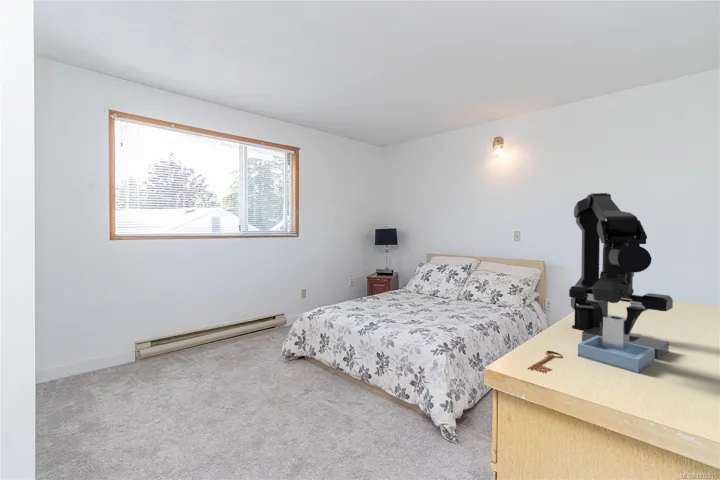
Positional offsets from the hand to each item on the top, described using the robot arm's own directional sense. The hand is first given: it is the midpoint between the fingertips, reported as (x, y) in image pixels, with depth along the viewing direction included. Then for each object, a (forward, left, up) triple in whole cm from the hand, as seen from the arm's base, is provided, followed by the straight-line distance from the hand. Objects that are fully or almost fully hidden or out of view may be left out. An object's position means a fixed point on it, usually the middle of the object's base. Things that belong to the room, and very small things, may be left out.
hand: (615, 332), depth 77 cm
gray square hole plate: (-2, +12, -6) cm, 14 cm away
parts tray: (0, 0, -6) cm, 6 cm away
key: (-8, -16, -7) cm, 19 cm away
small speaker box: (0, 0, -4) cm, 4 cm away
